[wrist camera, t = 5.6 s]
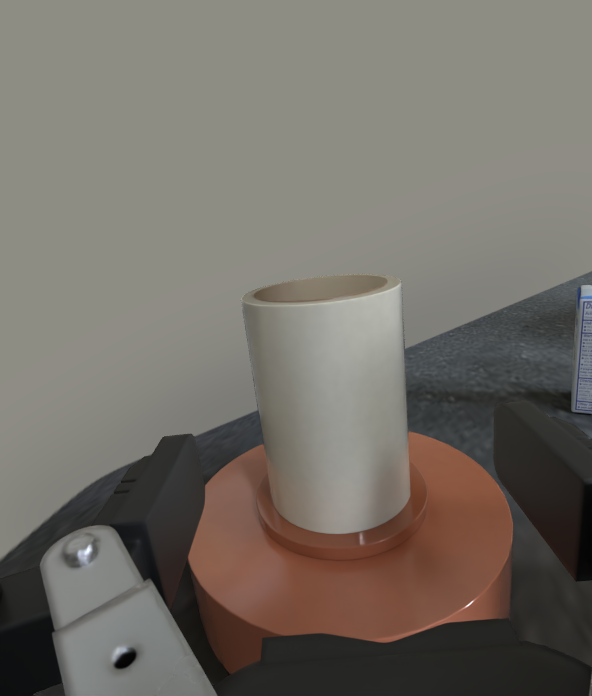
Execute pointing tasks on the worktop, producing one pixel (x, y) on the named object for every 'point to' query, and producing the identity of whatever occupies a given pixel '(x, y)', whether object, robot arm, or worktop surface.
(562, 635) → the worktop surface
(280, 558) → the terracotta pedestal disc
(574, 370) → the medicine box
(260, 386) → the cream cup
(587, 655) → the worktop surface
